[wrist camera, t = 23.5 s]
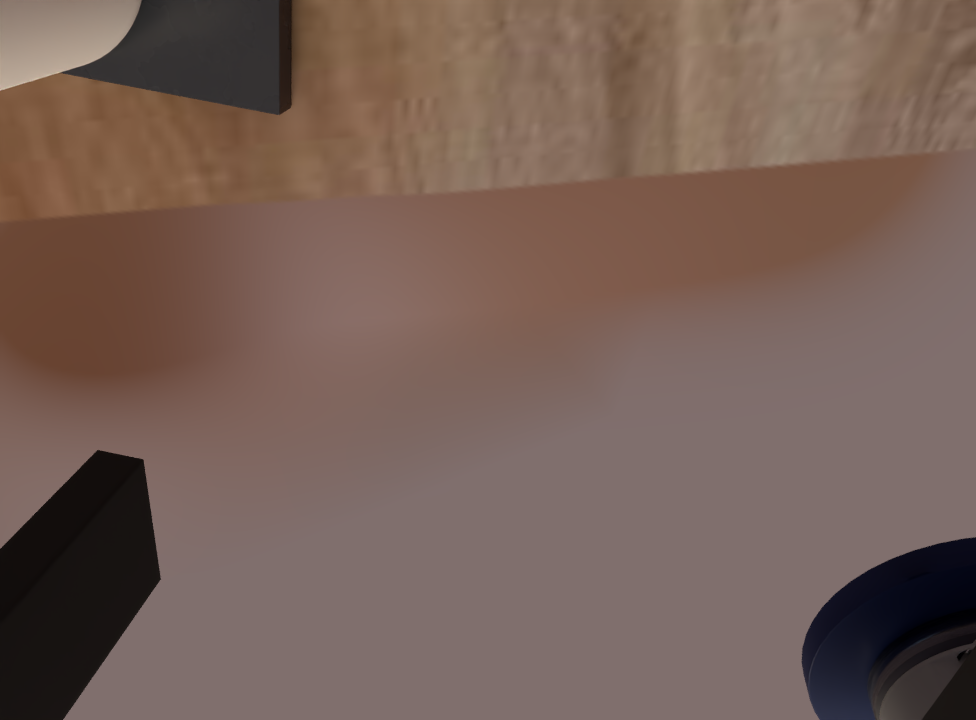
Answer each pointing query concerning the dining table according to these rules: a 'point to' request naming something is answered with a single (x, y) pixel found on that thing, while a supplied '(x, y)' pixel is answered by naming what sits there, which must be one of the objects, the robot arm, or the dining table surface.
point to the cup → (58, 35)
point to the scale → (206, 52)
